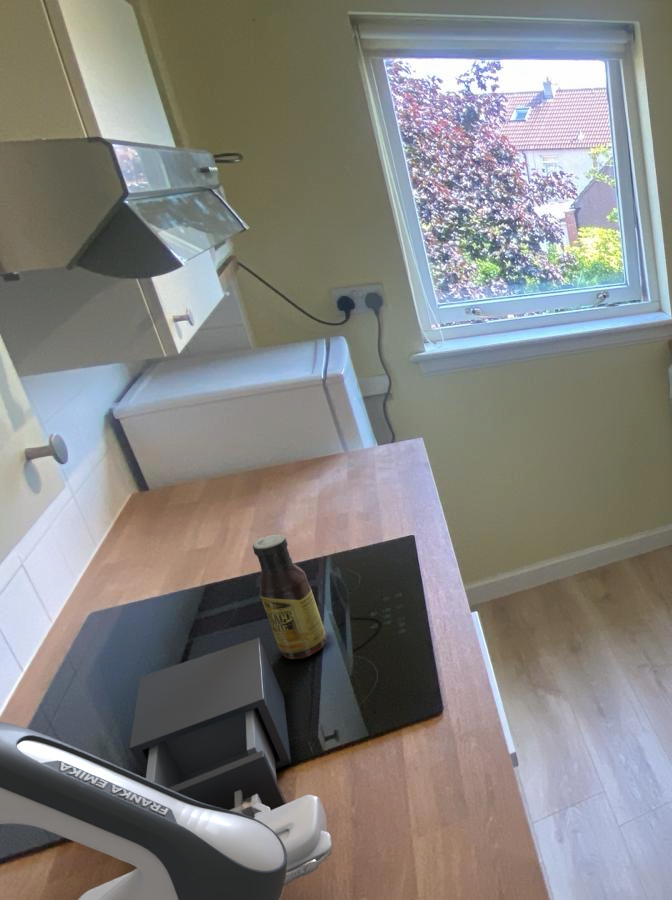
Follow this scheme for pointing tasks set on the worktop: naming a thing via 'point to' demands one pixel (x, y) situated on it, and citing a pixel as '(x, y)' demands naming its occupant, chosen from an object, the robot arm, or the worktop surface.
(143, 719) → the cabinet
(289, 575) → the sauce bottle
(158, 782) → the drawer
